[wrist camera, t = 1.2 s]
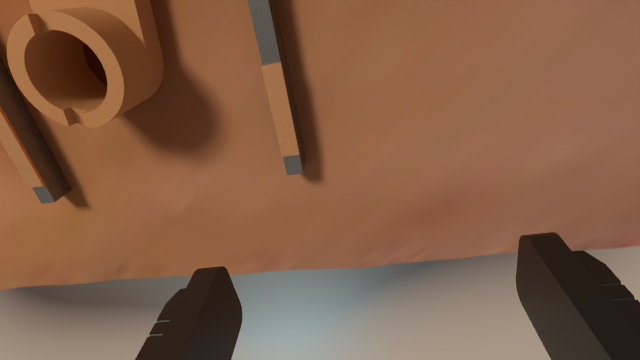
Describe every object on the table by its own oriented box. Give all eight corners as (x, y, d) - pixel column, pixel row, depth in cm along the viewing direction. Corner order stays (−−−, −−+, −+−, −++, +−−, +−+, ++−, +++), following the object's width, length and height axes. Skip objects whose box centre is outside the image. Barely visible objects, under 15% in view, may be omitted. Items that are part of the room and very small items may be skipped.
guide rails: (-75, -46, 30) (-113, -49, 27) (251, -119, 26) (241, -129, 24) (58, 191, 40) (39, 205, 37) (306, 161, 36) (303, 174, 34)
